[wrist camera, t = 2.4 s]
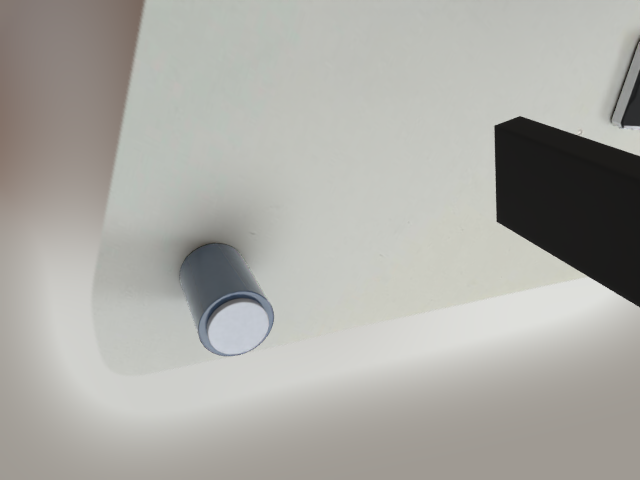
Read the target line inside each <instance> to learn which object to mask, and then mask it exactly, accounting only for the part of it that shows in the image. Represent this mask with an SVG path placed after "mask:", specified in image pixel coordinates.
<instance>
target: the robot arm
mask: <svg viewBox="0 0 640 480" xmlns="http://www.w3.org/2000/svg"><path fill="white" fill-rule="evenodd" d="M495 167H496V210H497V222H498V223H500V224H502V225H503V226H505V227H507V228H508V229H510V230H512V231H513V232H515V233H517V234H518V235H520V236H522V237H523V238H525V239H527V240H528V241H530V242H532V243H533V244H535V245H537V246H538V247H540V248H542V249H543V250H545V251H547V252H548V253H550V254H552V255H553V256H555V257H557V258H558V259H560V260H562V261H563V262H565V263H567V264H569V265H570V266H572V267H574V268H575V269H577V270H579V271H580V272H582V273H584V274H585V275H587V276H589V277H590V278H592V279H594V280H595V281H597V282H599V283H600V284H602V285H604V286H605V287H607V288H609V289H610V290H612V291H614V292H616V293H617V294H619V295H620V296H622V297H624V298H625V299H627V300H629V301H630V302H632V303H634V304H635V305H637V306H639V307H640V156H637V155H634V154H631V153H628V152H625V151H622V150H619V149H616V148H613V147H610V146H607V145H604V144H601V143H598V142H595V141H592V140H589V139H586V138H584V137H581V136H578V135H575V134H572V133H569V132H566V131H563V130H560V129H557V128H554V127H551V126H548V125H545V124H542V123H539V122H536V121H533V120H530V119H527V118H524V117H521V116H519V117H517V118H514V119H511V120H509V121H506V122H503V123H501V124H498V125H496V126H495Z"/></svg>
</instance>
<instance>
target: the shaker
mask: <svg viewBox="0 0 640 480" xmlns="http://www.w3.org/2000/svg"><path fill="white" fill-rule="evenodd" d="M180 284H181V286H182V289H183V292H184V295H185V298H186V301H187V304H188V307H189V310H190V312H191V315H192V318H193V321H194V324H195V327H196V330H197V333H198V335H199V338H200V341H201V343H202V344H203V345H204V347H205V348H206V349H208V350H209V351H211V352H212V353H215V354H217V355H221V356H236V355H240V354H244V353H246V352H249V351H251V350H252V349H254V348H256V347H257V346H258V345H259V344H261V343H262V342H263V341H264V340H265V338H266V337H267V336H268V334H269V332H270V330H271V328H272V325H273V321H274V312H273V308H272V306H271V304H270V302H269V301H268V299H267V297H266V296H265V294H264V292H263V290H262V289H261V287H260V285H259V284H258V282H257V280H256V279H255V277H254V275H253V274H252V272H251V270H250V268H249V267H248V265H247V263H246V262H245V260H244V258H243V257H242V255H241V254H240V253H239V251H237V250H236V249H235V248H233V247H231V246H229V245H226V244H220V243H214V244H208V245H204V246H202V247H200V248H198V249H196V250H194V251H193V252H192V253H191V254H190V255H189V256H188V257H187V258H186V259H185V261H184V262H183V264H182V267H181V270H180Z"/></svg>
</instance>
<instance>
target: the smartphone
mask: <svg viewBox="0 0 640 480" xmlns="http://www.w3.org/2000/svg"><path fill="white" fill-rule="evenodd" d="M611 121H612V123H613V125H614V126H617V127H619V128H621V129H636V130H640V42H639V44H638V47H637V50H636V52H635V55H634V58H633V61H632V64H631V67H630V69H629V72H628V75H627V78H626V81H625V84H624V86H623V89H622V92H621V95H620V98H619V100H618V103H617V106H616V109H615V112H614V115H613V117H612V120H611Z"/></svg>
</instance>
